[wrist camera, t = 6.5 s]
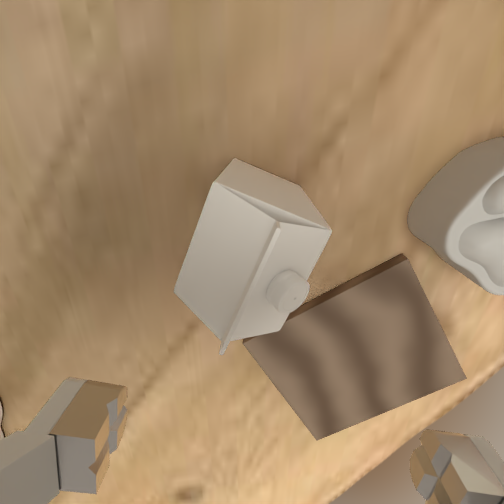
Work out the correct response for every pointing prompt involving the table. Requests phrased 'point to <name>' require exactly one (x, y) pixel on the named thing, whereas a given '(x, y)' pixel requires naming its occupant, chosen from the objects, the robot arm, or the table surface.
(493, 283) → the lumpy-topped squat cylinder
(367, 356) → the walnut board
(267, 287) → the milk carton
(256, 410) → the table surface
